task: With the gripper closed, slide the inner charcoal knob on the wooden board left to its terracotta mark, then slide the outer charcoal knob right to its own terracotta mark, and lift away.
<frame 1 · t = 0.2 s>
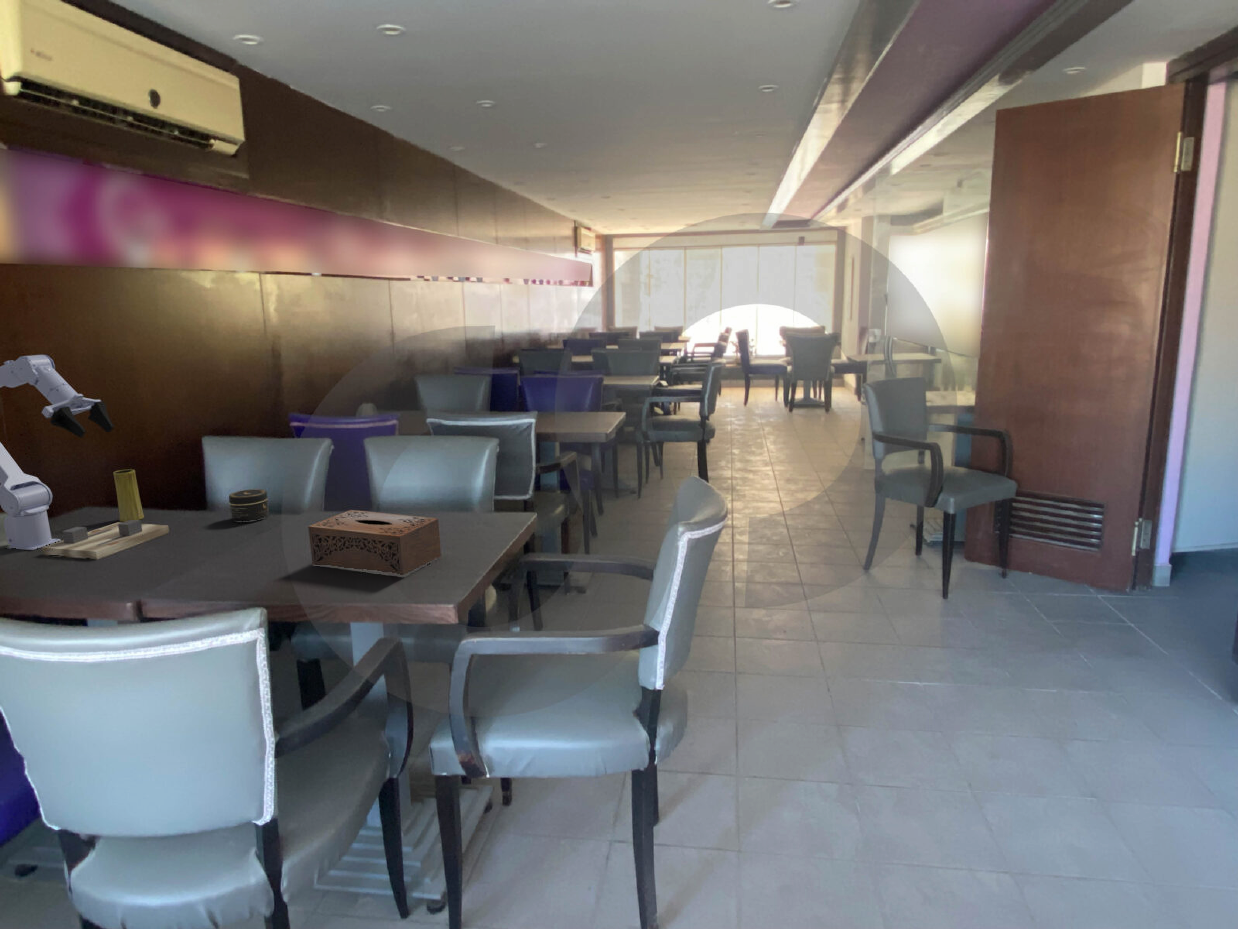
hand: (97, 432, 190), 31 cm above the table, tool tilted 45°, fingers open, 7 cm apart
inner knob: (75, 535, 200), point 4 cm above the table, slide at 0.0 cm
tissue box cover: (377, 563, 185), on the table
jar: (251, 519, 224), on the table
outer knob: (130, 527, 205), point 4 cm above the table, slide at 8.0 cm
vase: (132, 519, 226), on the table
wooden board: (108, 543, 204), on the table
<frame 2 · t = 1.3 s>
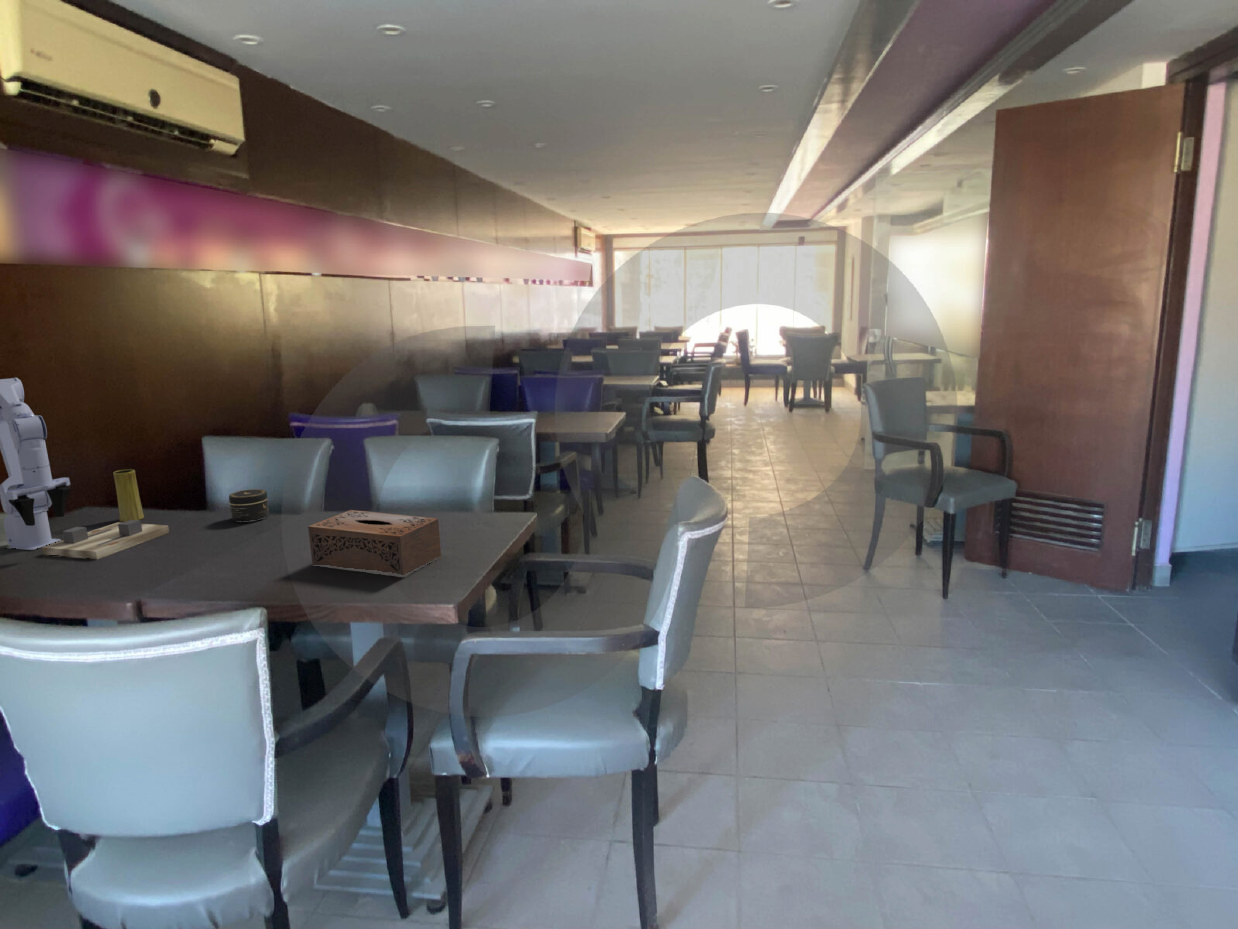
hand: (45, 520, 192), 9 cm above the table, tool pointing down, fingers open, 7 cm apart
nothing on the table moved.
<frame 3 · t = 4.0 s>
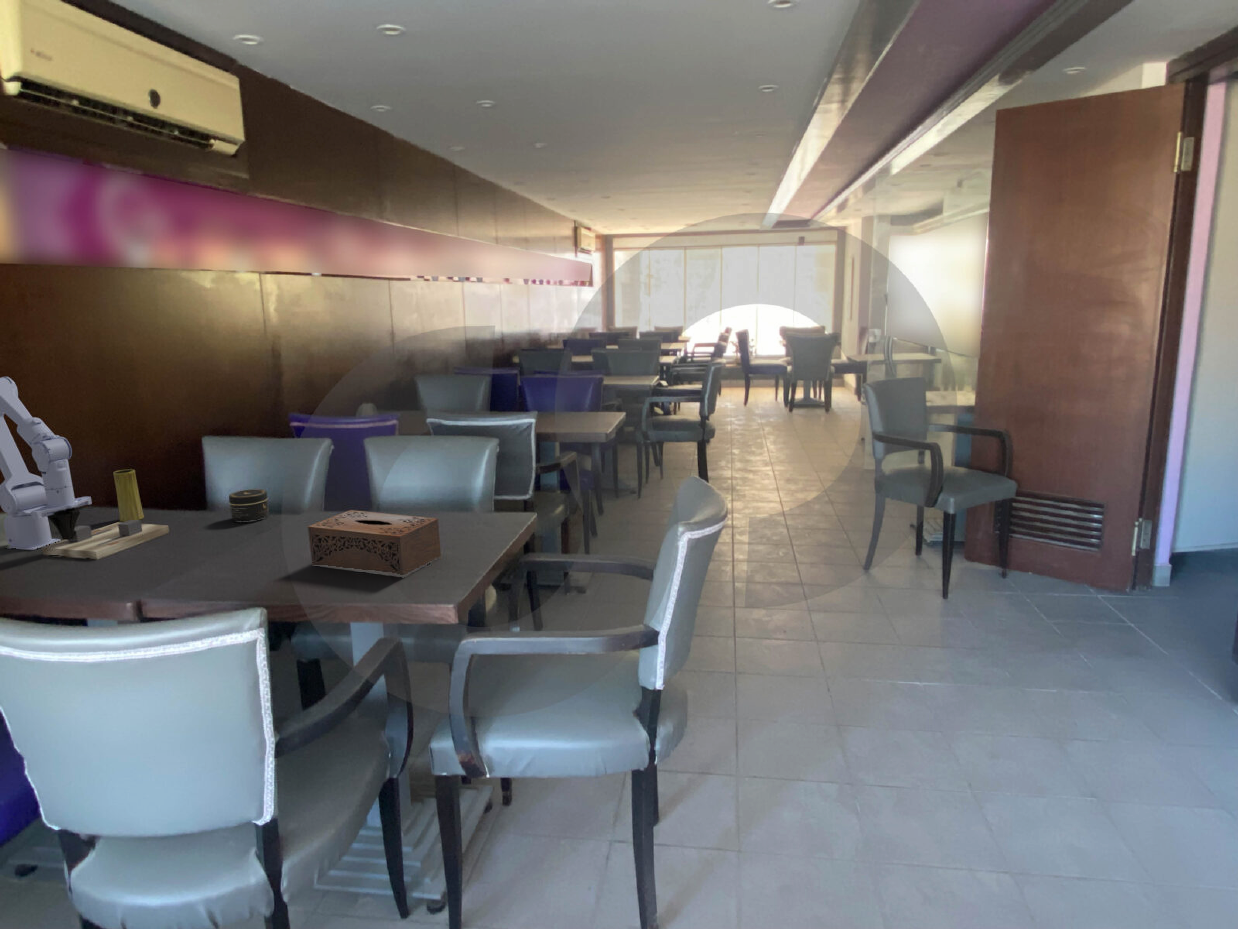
hand: (68, 539, 198), 3 cm above the table, tool pointing down, fingers closed
inner knob: (79, 533, 201), point 4 cm above the table, slide at 1.1 cm, touching gripper
everything else where it was.
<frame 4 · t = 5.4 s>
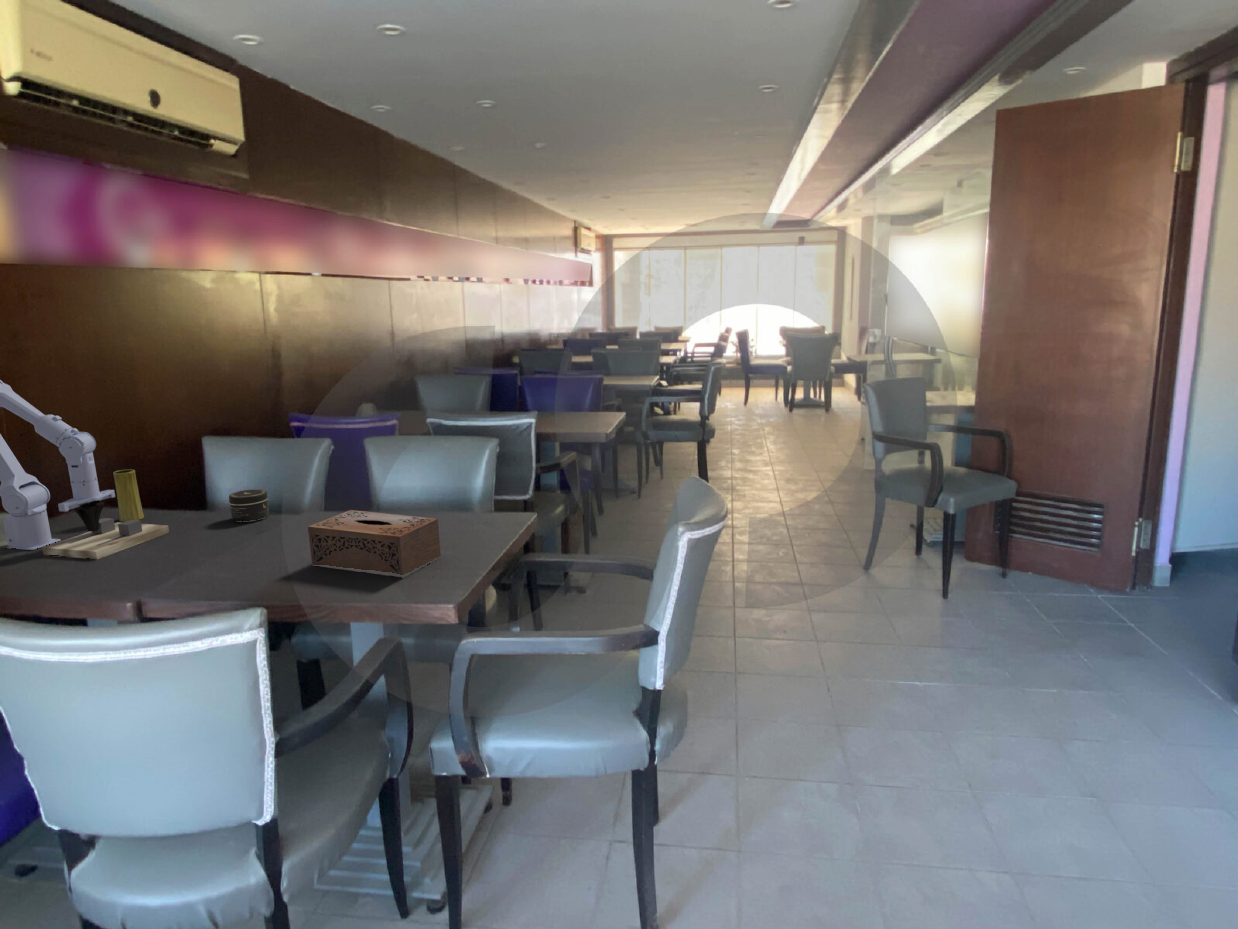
hand: (93, 530, 204), 3 cm above the table, tool pointing down, fingers closed
inner knob: (103, 525, 207), point 4 cm above the table, slide at 8.1 cm, touching gripper
everything else where it was.
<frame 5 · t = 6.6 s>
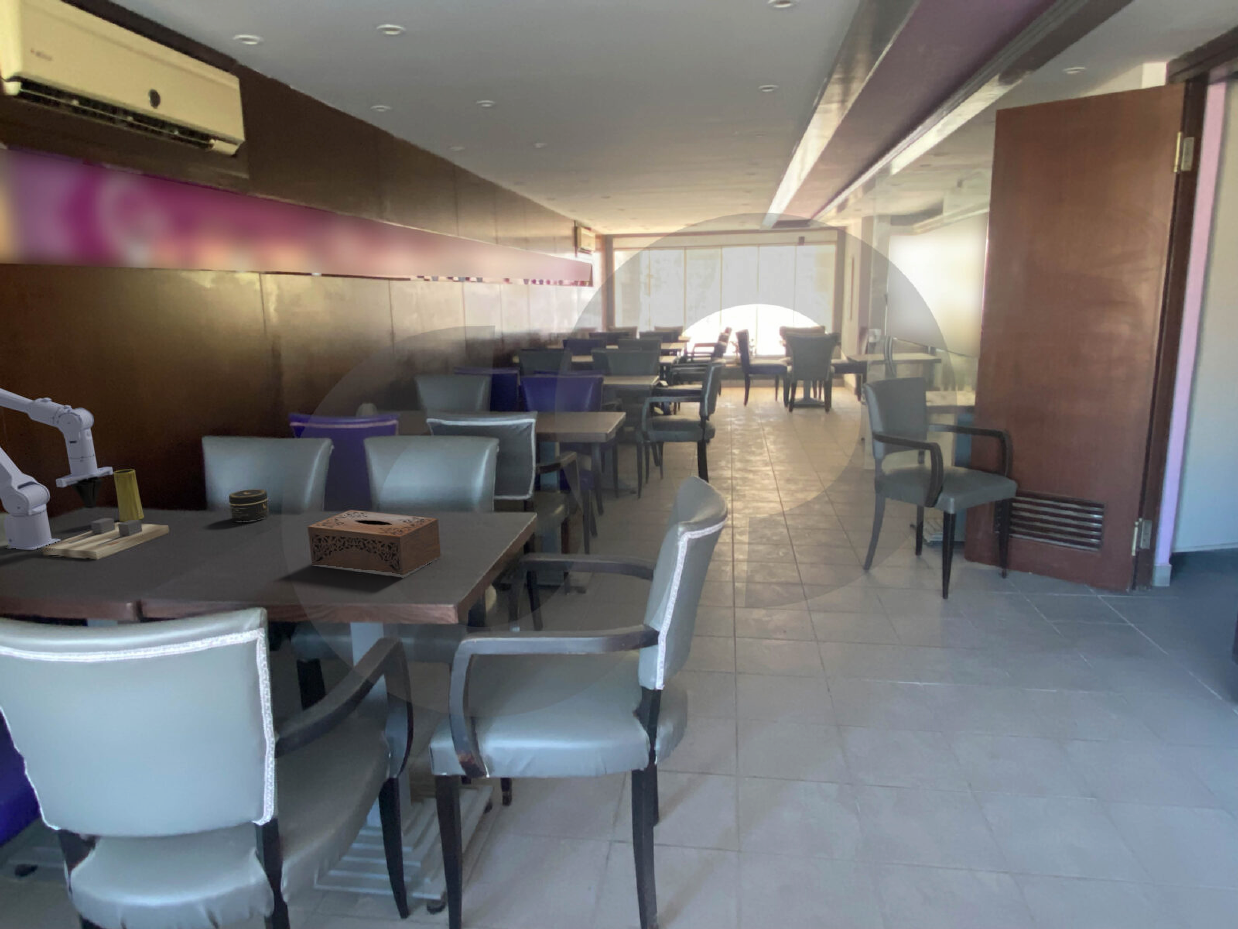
hand: (90, 507, 204), 9 cm above the table, tool pointing down, fingers closed
inner knob: (103, 525, 207), point 4 cm above the table, slide at 8.1 cm
everything else where it was.
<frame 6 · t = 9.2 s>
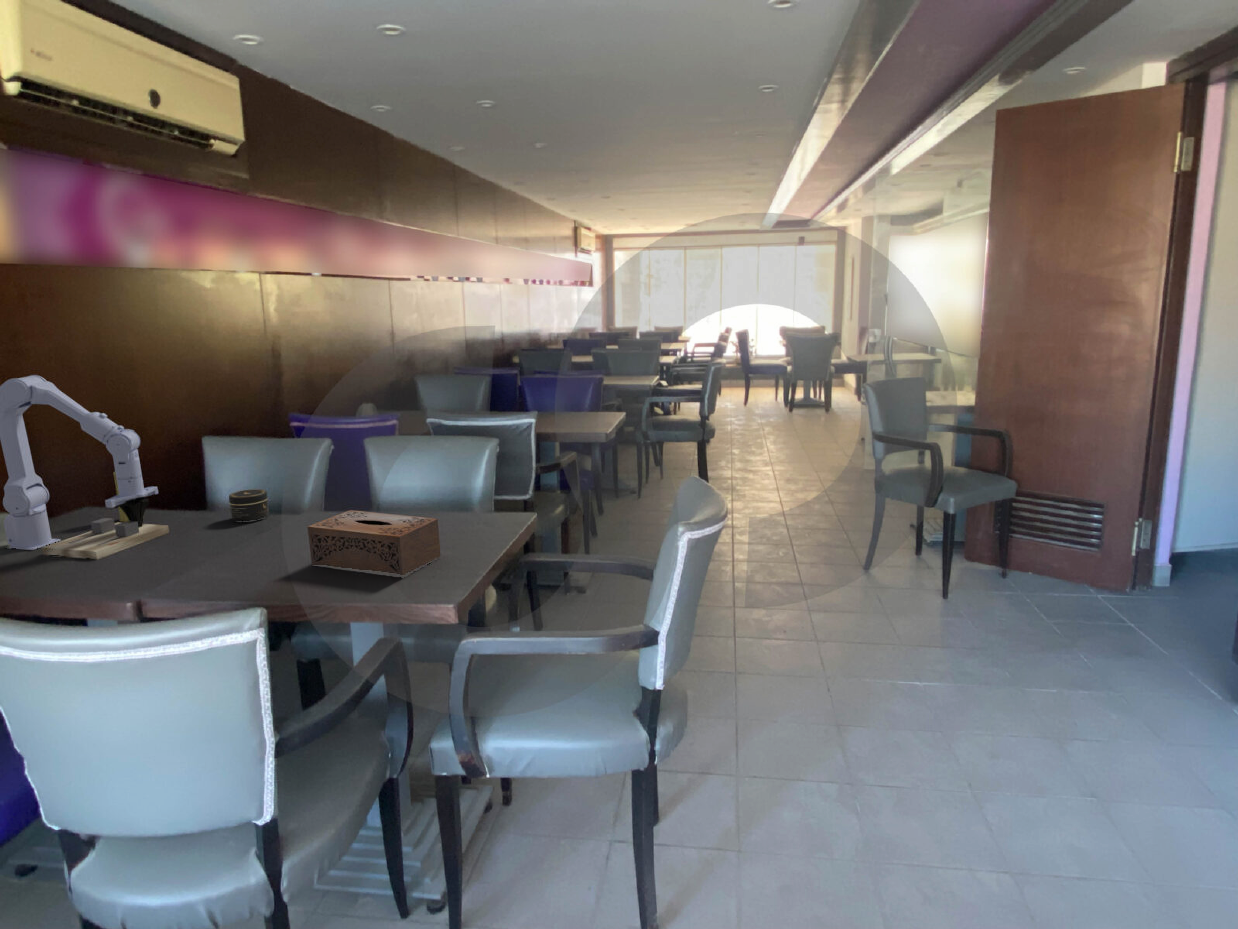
hand: (137, 526, 207), 3 cm above the table, tool pointing down, fingers closed
outer knob: (127, 528, 204), point 4 cm above the table, slide at 7.0 cm, touching gripper
everything else where it was.
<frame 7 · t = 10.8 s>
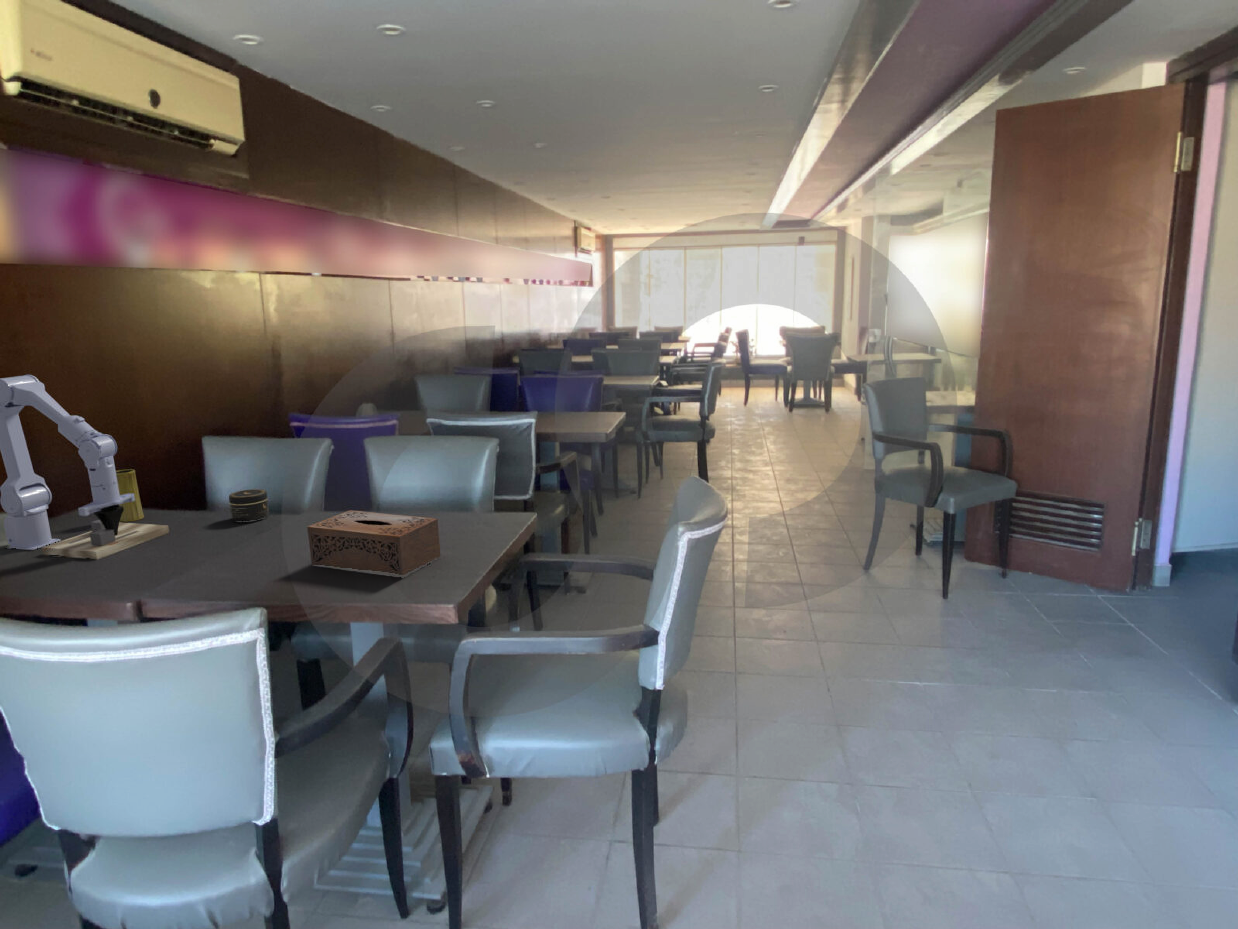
hand: (113, 535, 200), 3 cm above the table, tool pointing down, fingers closed
outer knob: (102, 537, 197), point 4 cm above the table, slide at -0.2 cm, touching gripper
everything else where it was.
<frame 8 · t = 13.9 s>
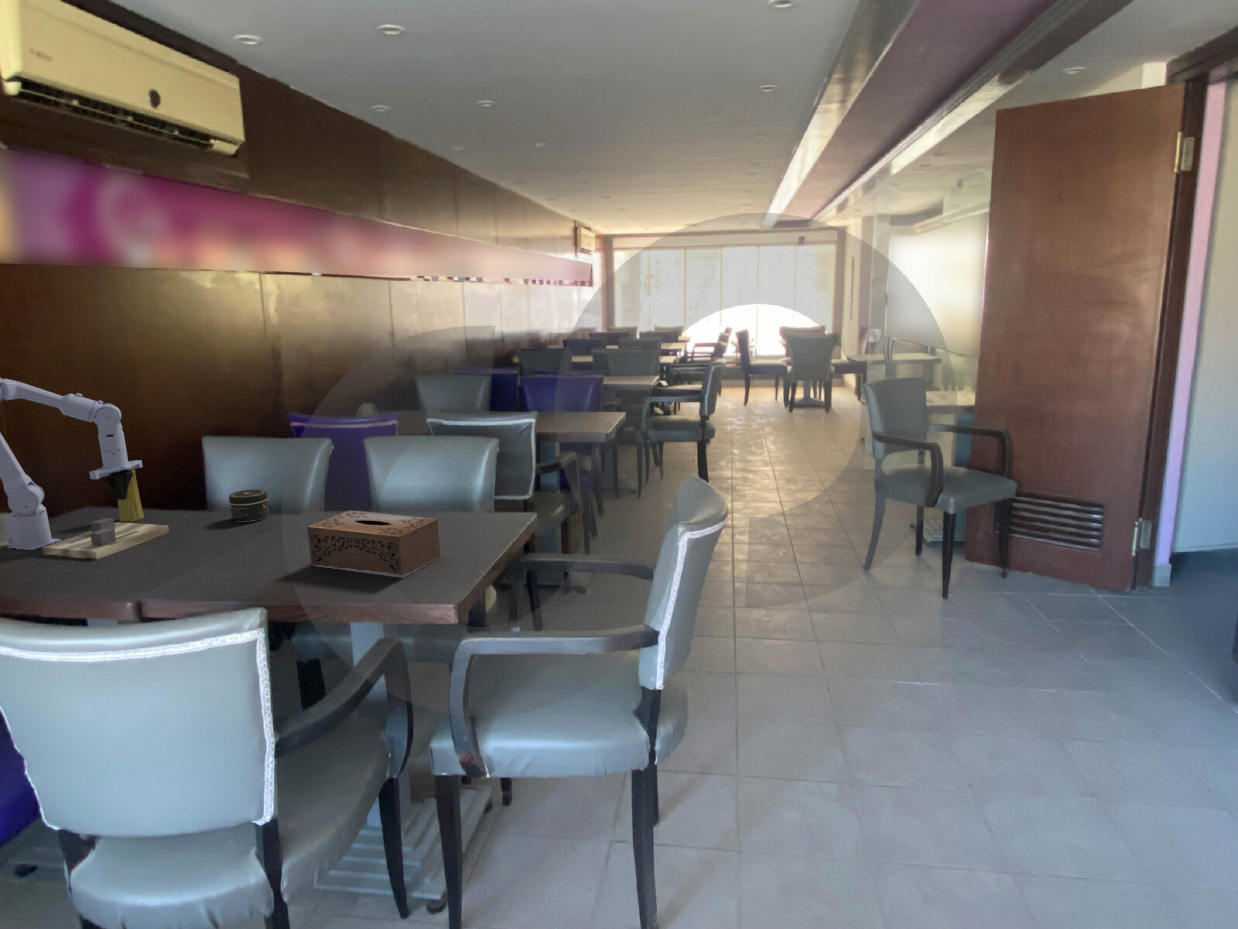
hand: (121, 499, 211), 9 cm above the table, tool pointing down, fingers closed
outer knob: (103, 537, 197), point 4 cm above the table, slide at -0.1 cm
everything else where it was.
at the end: inner knob slide at 8.1 cm; outer knob slide at -0.1 cm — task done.
